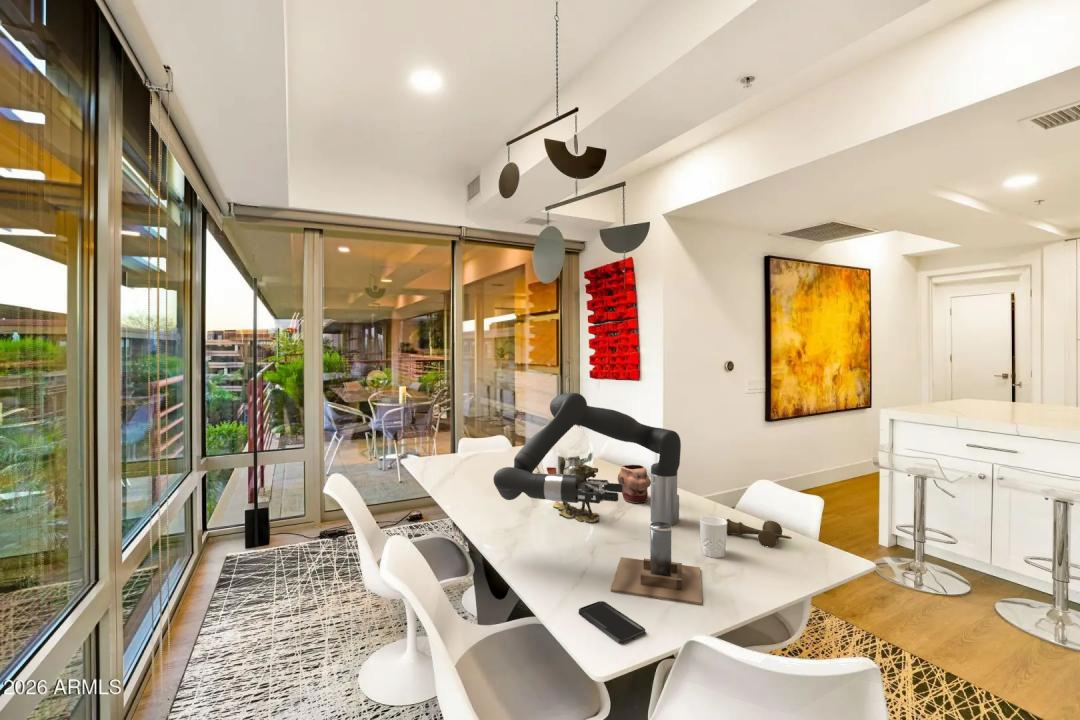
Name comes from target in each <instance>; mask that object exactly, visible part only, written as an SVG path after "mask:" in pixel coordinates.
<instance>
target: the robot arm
mask: <svg viewBox="0 0 1080 720" xmlns="http://www.w3.org/2000/svg"><path fill="white" fill-rule="evenodd" d="M587 402H588V401H587V400H586V397H584V396H583V395H582V394H580V393H578V392H567V393H561V394H558V395H557V396H555V397H553V398H552V400H551V402H550V403H549V411H550V413H551V415H552V417H553V418H552V420H550V421H549V422H548V423H547V424H546V425H545V426H544V427H543V428H540V430H538V431H537V432H536V433H535V434H534V435H533V436H531V438H530V439H528V440H527V442H526V443H525V444H524V445H523V446H522V448H521V449H520V450H519V451H518V452H517V454H516V455H515V456H514V459H513V467H511V466H510V467H509V466H505V467H501V468H499V469H498V470H496V472H495V473H494V475H493V479H492V480H493V484H494V486H495V488H496V490H497V491H498V493H499V494H500V496H501V497H502V498H503V499H504V500H506V501H513V500H514V499H518V497H520V496H521V494H522V493H523V494H525V495H526V496H527V497H528V498H531V499H538V500H545V501H546V500H548V501H552V502H559V503H563V502H568V503H569V504H570V503H572V504H578V503H579V502H580V503H582V502H589V503H590V504H591V503H592V504H600V503H601V502H602V503H603V502H604V501H606V502H618V501H619V493H622V491H623V485H622V484H619V483H613V482H612V483H611V482H610V481H608V480H607V479H595V478H593V479H591V478H588V479H587V482H585V483H582V482H581V478H580V476H578V475H576V474H560V473H547V474H546V473H536V472H534V471H535V470H536V469H537V467H538V466H539V465H540V463H541V462H542V461H543V459H545V458H546V456H547V454H548V453H549V452H550V451H551V450H552V448H554V447H555V445H556V444H558V442H559V441H560V440H561V439H562V437H564V436H566V435H565V434H567V433H568V432H569V431H570V430H571V429H572V428H573V427H575V425H576V426H580V427H583V428H586V429H589V430H591V431H593V432H596V433H598V434H601V435H603V436H606V437H609V438H611V439H614V440H617V441H621V442H623V443H624V442H625V443H632V444H637V445H639V446H641V447H644V448H646V449H647V450H649V451H650V452H653V453H655V454H659V458H658V462H655V463H653V464H652V465H651V467H650V480H651V484H650V522H651V523H653V522H665V523H668V524H670V525H671V526H673V525H676V524H677V523H678V522H680V495H679V494H678V471H679V467H680V465H681V449H682V445H681V443H682V442H681V437H680V435H679V434H678V432H676V431H675V430H671V429H666V428H662V427H655V426H650V425H647V424H642V423H641V422H639V421H637V420H636V419H635V418H634V417H633V416H631V415H628V414H627V413H623V412H620V411H618V410H614V409H612V408H610V409H609V408H605V407H597V406H592V405H591V406H590V405H588V403H587Z"/></svg>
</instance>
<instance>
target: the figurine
mask: <svg viewBox="0 0 1080 720" xmlns="http://www.w3.org/2000/svg"><path fill="white" fill-rule="evenodd" d="M565 468H566V460H565V458H564V457H563V456H562V457H561V458H560V460H559V474H564V471H565ZM573 471H574V473H575V474H574V475H578V476H580V478H581V482H582V483H585V482H587V479H590V478H593V479H595V478H596V476H597V474H596V473H599V468H598V467H592V466H590V465H587V464H583V463H577V465H576V466H575V467H574V468H573ZM590 505H591V503H589V502H581V507H580V508H577V507H575V506H574V505H571V504H570V502H558V501H554V504H553V506H552V507H553V508H554V509H556V510H558V511H559V513H558V515H559V516H560V517H562V518H565V519H571V520H573V519H574V520H576V521H577V522H584V521H585V523H586V524H587V523H588V524H596V523H598V522H600V518H599V516H600V515H599V513H598V512H593V511H592V509H591V506H590ZM586 507H587V509H586Z"/></svg>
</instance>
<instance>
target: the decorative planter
mask: <svg viewBox="0 0 1080 720" xmlns="http://www.w3.org/2000/svg"><path fill="white" fill-rule="evenodd" d="M617 482H618V483H617V484H622V485H623V491H622V492H621V495H622V497H623V500H624V501H626V502H628V503H634V504H641V503H645V502H647V501H648V499H649V491H648V488H649V487H651V477H649V475H648V471H647V469H646V467H645V466H643V465H641V464H625V465H622V466H621V468H620V471H619V472H618V474H617Z"/></svg>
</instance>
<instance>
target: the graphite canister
mask: <svg viewBox="0 0 1080 720" xmlns="http://www.w3.org/2000/svg"><path fill="white" fill-rule="evenodd" d="M649 526H650V550H649V551H650V558H649V559H650V574H653V575H661V576H668V577H671V562H672V530H673V529H672V528H673V527H672V526H673V525H670V524H668V523H665V522H651V523H650V525H649Z"/></svg>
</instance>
